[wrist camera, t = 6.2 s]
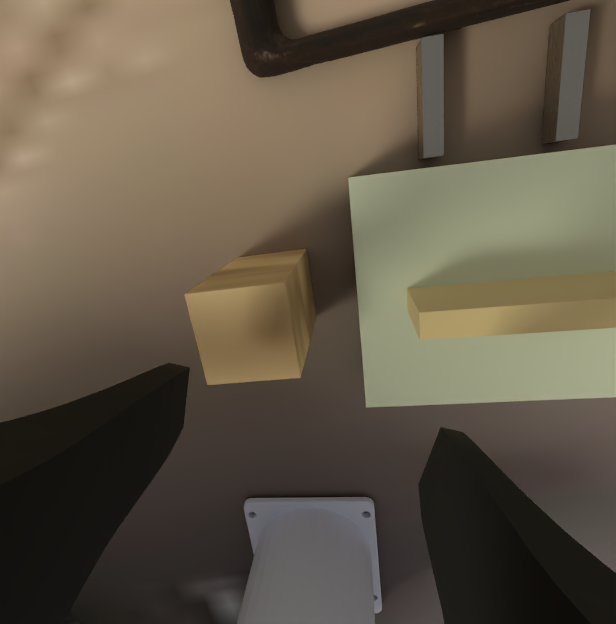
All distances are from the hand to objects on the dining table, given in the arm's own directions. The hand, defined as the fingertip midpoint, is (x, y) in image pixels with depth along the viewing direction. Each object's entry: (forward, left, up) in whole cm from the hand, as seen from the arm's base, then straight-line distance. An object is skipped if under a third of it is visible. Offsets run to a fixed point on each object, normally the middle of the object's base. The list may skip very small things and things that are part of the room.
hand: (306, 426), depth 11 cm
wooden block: (+2, +2, -9) cm, 10 cm away
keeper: (+9, -8, -9) cm, 15 cm away
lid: (+2, -8, -7) cm, 10 cm away
